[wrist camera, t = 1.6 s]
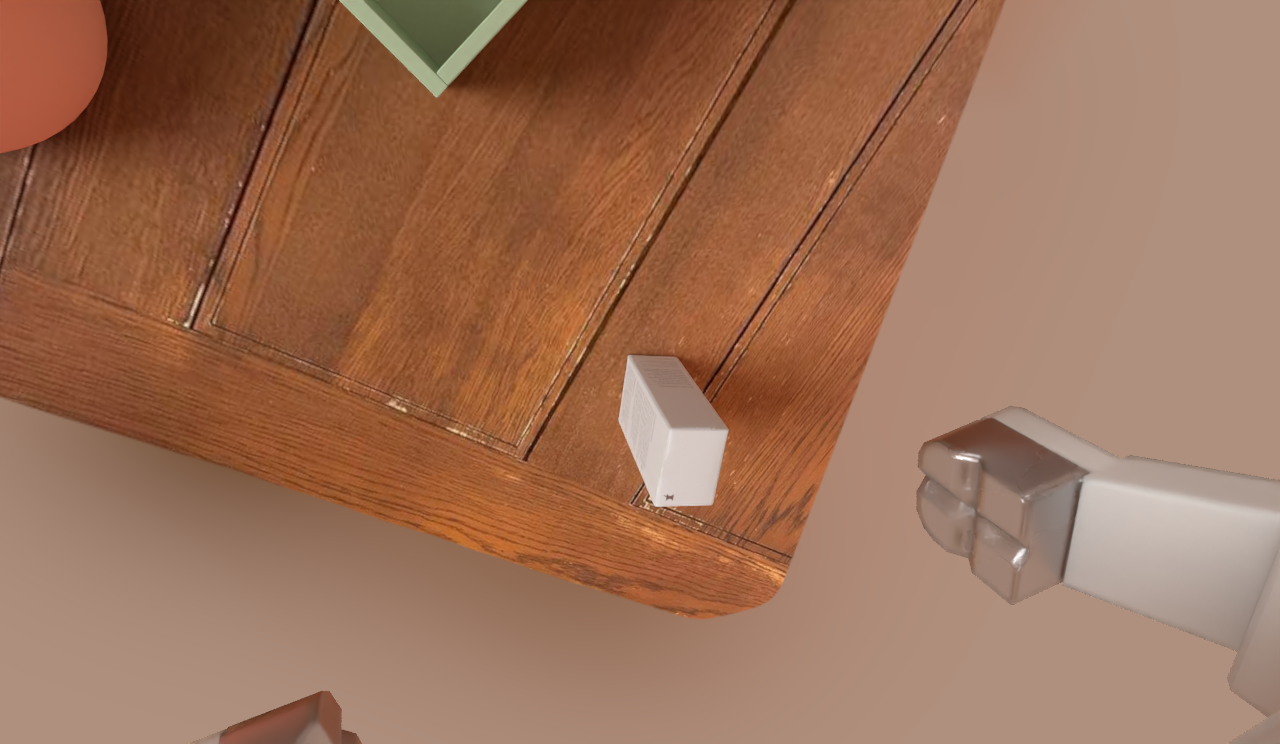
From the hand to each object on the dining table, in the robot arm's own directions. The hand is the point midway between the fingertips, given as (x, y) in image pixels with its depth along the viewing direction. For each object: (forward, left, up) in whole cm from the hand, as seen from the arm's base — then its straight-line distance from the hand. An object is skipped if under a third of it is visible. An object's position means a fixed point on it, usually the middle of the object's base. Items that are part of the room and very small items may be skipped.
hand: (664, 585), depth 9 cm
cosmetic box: (+5, +20, -40) cm, 45 cm away
